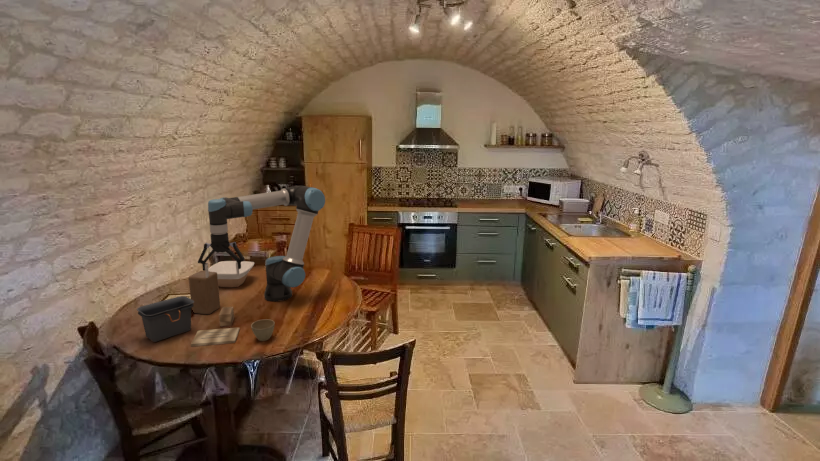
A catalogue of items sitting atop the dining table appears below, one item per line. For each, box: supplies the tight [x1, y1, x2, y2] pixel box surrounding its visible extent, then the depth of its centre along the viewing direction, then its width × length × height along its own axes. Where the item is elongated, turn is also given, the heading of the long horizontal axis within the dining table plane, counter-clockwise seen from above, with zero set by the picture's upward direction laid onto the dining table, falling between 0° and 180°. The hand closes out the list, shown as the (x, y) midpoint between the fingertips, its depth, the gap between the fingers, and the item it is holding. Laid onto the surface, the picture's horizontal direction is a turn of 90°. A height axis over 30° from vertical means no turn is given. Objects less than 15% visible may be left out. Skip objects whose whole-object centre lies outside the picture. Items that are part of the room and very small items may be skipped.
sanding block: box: [218, 306, 235, 328], centre depth 210 cm, size 5×9×6 cm, turn 13°
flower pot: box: [250, 318, 275, 342], centre depth 195 cm, size 10×10×7 cm
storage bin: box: [136, 295, 194, 343], centre depth 196 cm, size 21×16×14 cm
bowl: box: [208, 260, 255, 288], centre depth 261 cm, size 24×25×11 cm
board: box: [190, 327, 240, 347], centre depth 195 cm, size 18×13×1 cm
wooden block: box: [188, 270, 221, 315], centre depth 222 cm, size 10×10×20 cm
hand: (222, 276), depth 205 cm, fingers open, 13 cm apart
